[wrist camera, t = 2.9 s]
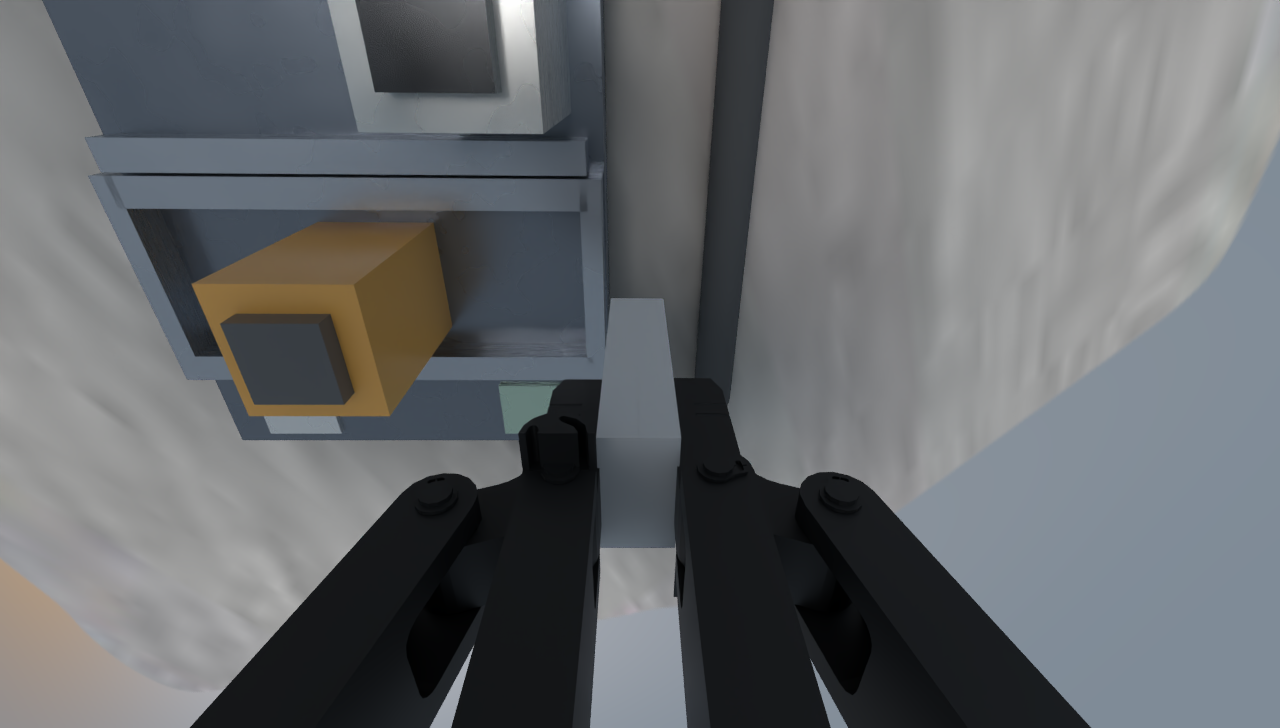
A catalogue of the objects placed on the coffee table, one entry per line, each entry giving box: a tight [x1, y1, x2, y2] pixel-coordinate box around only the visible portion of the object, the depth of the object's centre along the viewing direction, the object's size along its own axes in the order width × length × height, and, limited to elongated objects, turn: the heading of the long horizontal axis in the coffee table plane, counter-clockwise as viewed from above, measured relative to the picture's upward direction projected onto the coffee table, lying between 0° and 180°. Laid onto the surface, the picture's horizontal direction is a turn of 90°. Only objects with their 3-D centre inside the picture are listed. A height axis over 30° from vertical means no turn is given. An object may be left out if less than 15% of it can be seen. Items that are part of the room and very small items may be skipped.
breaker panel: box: [42, 0, 610, 440], centre depth 16 cm, size 19×16×9 cm
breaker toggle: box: [192, 222, 452, 416], centre depth 16 cm, size 4×4×7 cm
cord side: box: [695, 0, 774, 405], centre depth 20 cm, size 18×2×2 cm, turn 179°
